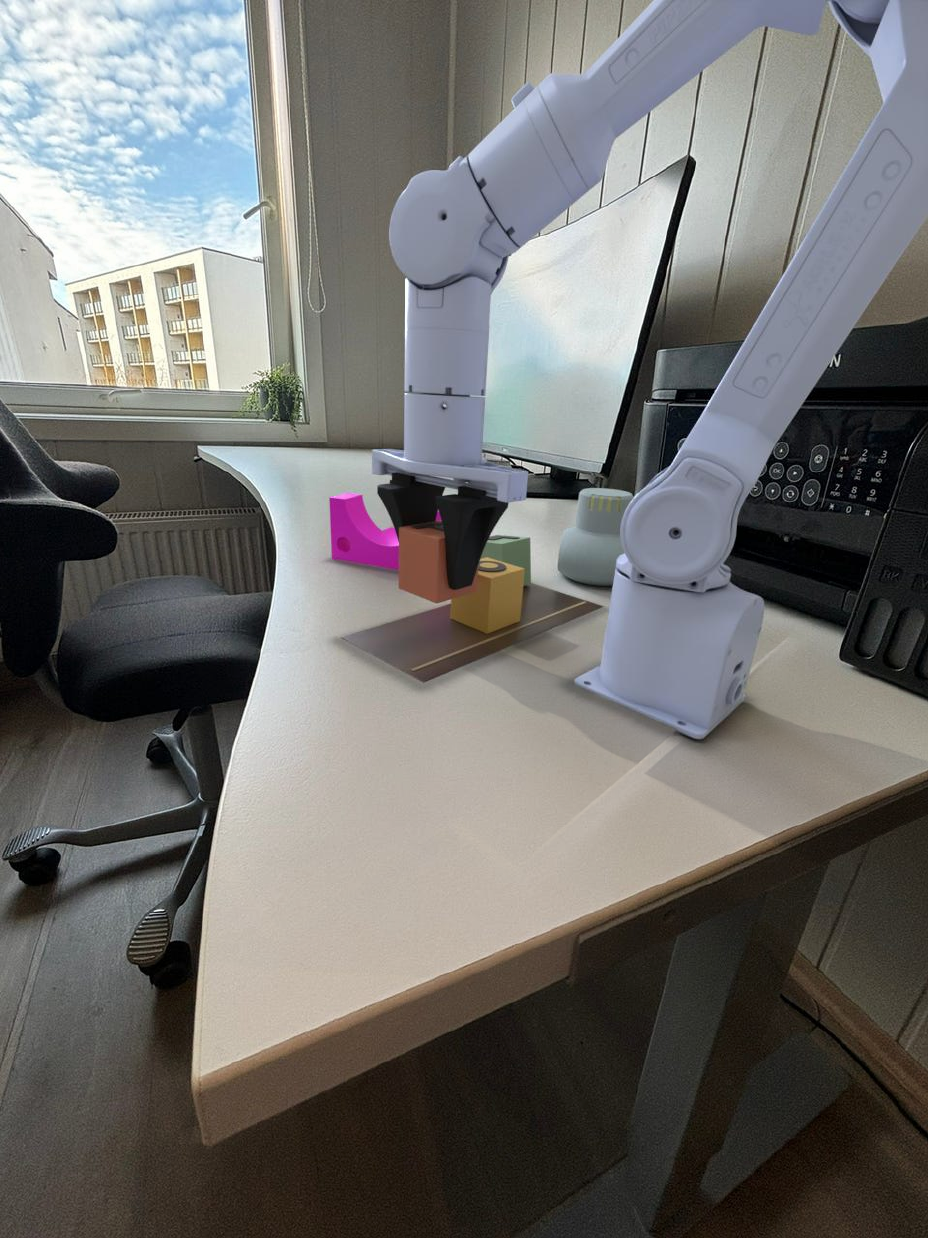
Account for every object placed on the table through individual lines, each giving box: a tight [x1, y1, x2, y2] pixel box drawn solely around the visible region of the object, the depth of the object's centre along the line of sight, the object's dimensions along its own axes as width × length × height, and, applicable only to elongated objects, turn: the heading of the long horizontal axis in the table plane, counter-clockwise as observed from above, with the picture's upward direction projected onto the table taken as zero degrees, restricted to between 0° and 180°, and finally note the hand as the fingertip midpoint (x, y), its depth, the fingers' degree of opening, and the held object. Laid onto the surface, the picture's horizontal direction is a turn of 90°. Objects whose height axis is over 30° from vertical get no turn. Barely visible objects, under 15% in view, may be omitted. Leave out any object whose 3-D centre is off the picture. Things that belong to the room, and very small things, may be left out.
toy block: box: [328, 492, 441, 571], centre depth 66 cm, size 15×6×8 cm, turn 68°
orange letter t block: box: [398, 521, 479, 604], centre depth 44 cm, size 4×4×5 cm
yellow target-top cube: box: [450, 557, 525, 634], centre depth 50 cm, size 4×4×5 cm
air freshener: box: [557, 487, 635, 587], centre depth 63 cm, size 11×8×10 cm
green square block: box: [480, 534, 532, 586], centre depth 60 cm, size 4×4×5 cm
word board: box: [341, 582, 604, 683], centre depth 51 cm, size 10×24×1 cm, turn 136°
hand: (438, 578), depth 45 cm, fingers closed on orange letter t block, 4 cm apart
